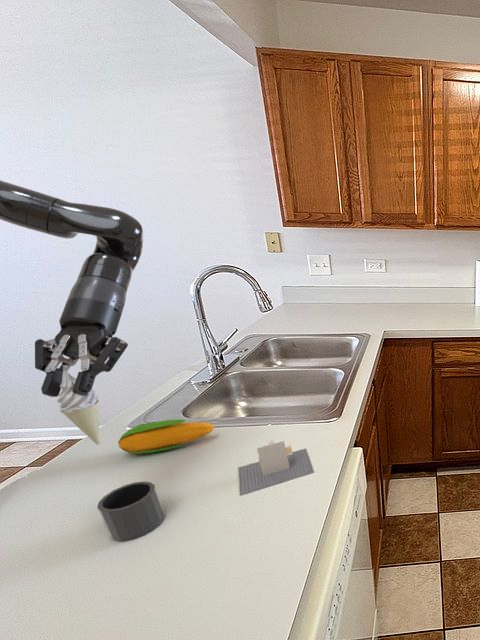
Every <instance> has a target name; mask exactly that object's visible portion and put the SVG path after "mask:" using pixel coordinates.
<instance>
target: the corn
mask: <svg viewBox="0 0 480 640" xmlns="http://www.w3.org/2000/svg"><path fill="white" fill-rule="evenodd" d="M214 429H215V425H214V424H211V423H207V422H186V419H168V420H159V421H152V422H147V423H142V424H138V425H136V426H134V427H132V428H130V429H128V430H127V431H126V432H124V433H123V434H122V435H121V436H120V438H119V440H118V442H117V444H118V448H119V449H121V450H122V451H124V452H126V453H130V454H151V453H152V454H153V453H158V452H163V451H167V450H173V449H176V448H180V447H185V446H186V445H185V444H186V443H187V444H188V443H190V442H193V441H196V440H198V439H200V438H203V437H204V436H206V435H209V434H211V433H212V432H213V431H214Z"/></svg>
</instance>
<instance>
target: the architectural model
mask: <svg viewBox="0 0 480 640" xmlns="http://www.w3.org/2000/svg"><path fill="white" fill-rule="evenodd" d="M256 451H257V455H258V461H257V462H252V463H249V464H246V465H242V466H239V467H237V470H238V483H239V496H243V495H248V494H249V493H253V492H257V491H259V490H262V489H266V488H269V487H272V486H275V485H278V484H282V483H286V482H288V481H291V480H294V479H298V478H300V477H304V476H307V475H310V474H313V473H315V470H314V467H313V465H312V464H313V463H312V461H311V458H310V456H309V453H308V450H307V448H302V449H299V450H295V451H293V450H292V446H291V445H289V446H286V445H285V440H281V441H278V442H274V439H272V440H271V441H270V442H269V443H268V444H266V445H263V446H260V447H257V448H256Z"/></svg>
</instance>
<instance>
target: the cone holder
mask: <svg viewBox="0 0 480 640" xmlns="http://www.w3.org/2000/svg"><path fill="white" fill-rule="evenodd" d="M97 511H98V513H99V515H100V517H101V519H102V521H103V523H104V526H105V528H106V530H107V533H108V535H109V536H110V537H111V539H112V540H113V541H116V542H128V541H129V542H130V541H134V540H136V539H139V538H142V537H143V536H145V535H148V534H150V533H151V532H152V531H154V530H155V529H157V528H158V527H159V526H160V525H161V524H162V523H163V522H164V520H165V518H166V513H165V508H164V505H163V504H162V501H161V499H160V496H159V493H158V490H157V488H156V485H155V484H154V483H153V482H151V481H136V482H132V483H129V484H128V483H127V484H125V485H122V486H119V487H118V488H116V489H114V490H112V491H110V492H109V493H107V494H105V495H104V496H103V497H102V498H101V499H100V500H99V501H98V504H97Z"/></svg>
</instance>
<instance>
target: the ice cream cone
mask: <svg viewBox="0 0 480 640" xmlns="http://www.w3.org/2000/svg"><path fill="white" fill-rule="evenodd" d="M75 381H76V377H74V376H73V375H72V374H70V373H69V372H68V371H67V372H66V371H65V370H64V369H63V377H62V383H61V385H60V388H61V389H62V390H60V393H59V395H58V398H57V400H56V402H57V403H59V404H60V406H59V408H60V410H59V412H60V413H62V414H63V415H64V416H65V417H67V418H68V419H69V420H70V421H71V422H72V423H73V424H74V425H75V426H76V428H78V429H79V430H80V431H81V432H83V434H84V435H85V436H87V437H88V438H89V440H91V441H92V442H93V443H94V444H96V445H97V446H98V445H100V444H101V434H100V433H101V431H100V415H99V396H98V395H97V394H96V391H95V390H94V389H93V388H92V389H91V391H90V392H88V395H85V396H80V395H78V394H75V393H73V387H74V384H75Z"/></svg>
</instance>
